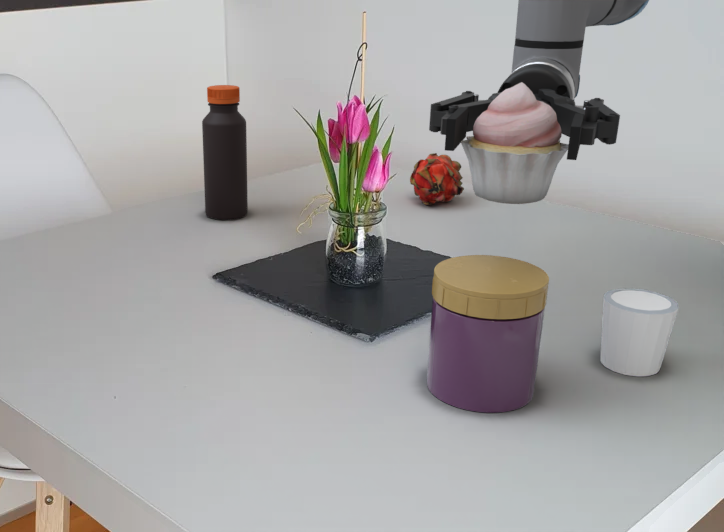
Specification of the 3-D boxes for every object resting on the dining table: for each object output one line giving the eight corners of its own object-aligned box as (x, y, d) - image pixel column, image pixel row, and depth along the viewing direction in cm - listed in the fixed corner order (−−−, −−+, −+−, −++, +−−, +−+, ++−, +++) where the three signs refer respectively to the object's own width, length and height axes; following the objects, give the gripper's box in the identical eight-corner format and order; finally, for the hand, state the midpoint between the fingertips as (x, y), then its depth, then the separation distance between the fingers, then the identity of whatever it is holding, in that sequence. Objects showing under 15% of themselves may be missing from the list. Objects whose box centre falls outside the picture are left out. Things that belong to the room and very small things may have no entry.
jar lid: (549, 285, 79) (552, 261, 78) (541, 326, 71) (545, 300, 70) (442, 272, 83) (444, 249, 82) (422, 310, 74) (424, 285, 73)
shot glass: (670, 358, 86) (683, 294, 83) (661, 385, 80) (674, 318, 77) (600, 343, 89) (610, 282, 86) (587, 369, 83) (597, 304, 81)
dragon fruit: (440, 199, 147) (436, 229, 137) (402, 171, 146) (396, 199, 136) (472, 164, 143) (471, 192, 133) (433, 134, 142) (429, 160, 132)
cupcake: (579, 193, 76) (595, 81, 73) (536, 216, 70) (551, 94, 66) (486, 177, 82) (496, 73, 78) (437, 197, 75) (446, 83, 72)
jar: (537, 372, 83) (551, 267, 79) (528, 420, 74) (543, 306, 70) (436, 357, 86) (444, 255, 82) (417, 401, 77) (424, 291, 73)
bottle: (196, 215, 133) (191, 87, 126) (224, 206, 138) (220, 82, 131) (229, 223, 130) (225, 91, 122) (256, 213, 135) (254, 86, 127)
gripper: (641, 141, 87) (645, 195, 67) (430, 127, 94) (379, 172, 75) (653, 67, 84) (661, 100, 65) (435, 58, 91) (383, 86, 72)
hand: (510, 139), depth 70 cm, fingers closed on cupcake, 9 cm apart
